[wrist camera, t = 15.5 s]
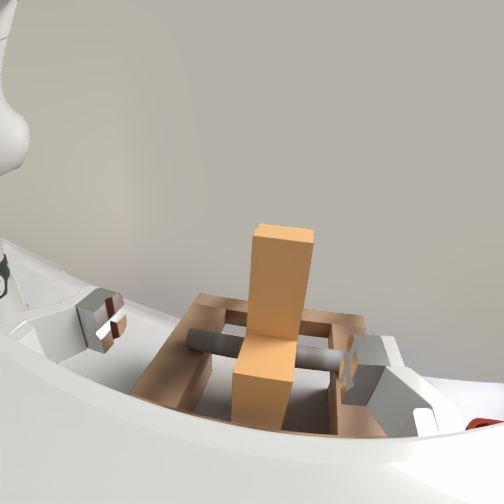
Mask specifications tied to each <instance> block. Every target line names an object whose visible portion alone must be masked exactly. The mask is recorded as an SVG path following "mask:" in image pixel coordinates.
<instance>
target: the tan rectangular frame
mask: <svg viewBox="0 0 504 504" xmlns="http://www.w3.org/2000/svg"><path fill="white" fill-rule="evenodd" d="M247 313H248V301H244V300H237V299H231V298H225V297H219V296H213V295H206V294H199V295H198V297H197V298H196V299H195V301H194V302H193V304H192V305H191V306H190V308H189V309H188V311H187V312H186V313H185V315H184V316H183V318H182V319H181V320H180V322H179V323H178V325H177V326H176V327H175V329H174V330H173V332H172V333H171V335H170V336H169V337H168V339H167V340H166V342H165V343H164V345H163V346H162V347H161V349H160V350H159V352H158V353H157V354H156V356H155V357H154V359H153V360H152V362H151V363H150V365H149V366H148V367H147V369H146V370H145V372H144V373H143V375H142V376H141V377H140V379H139V380H138V382H137V383H136V385H135V386H134V388H133V389H132V391H131V392H130V393H129V396H132V397H135V398H137V399H140V400H143V401H146V402H149V403H152V404H155V405H158V406H161V407H164V408H168V409H171V410H174V411H178V412H181V413H185V414H188V415H192V416H196V417H200V418H204V419H208V420H212V421H216V422H221V423H225V424H230V425H235V426H240V427H245V428H251V429H257V430H263V431H269V432H276V433H284V434H292V435H301V436H312V437H326V438H350V439H382V438H388V436H387V435H386V434H385V432H384V431H383V430H382V429H381V427H380V426H379V425H378V423H377V422H376V421H375V419H374V418H373V417H372V415H371V414H370V413H369V411H368V410H367V409H366V406H355V405H343V404H341V393H340V389H341V386H342V384H343V383H342V382H341V381H340V379H339V369H340V364H341V359H342V356H343V354H344V353H345V352H346V351H348V350H347V341H348V338H349V336H350V334H360V335H367V332H366V328H365V325H364V321H363V317H362V316H361V315H351V314H342V313H333V312H324V311H316V310H308V309H303V312H302V317H301V323H300V328H299V333H298V334H299V335H307V336H315V337H325V338H328V345H329V349H324V348H314V347H306V346H298V345H297V346H296V357H295V366H294V368H302V369H311V370H321V371H330V383H329V386H328V435H325V434H312V433H301V432H292V431H283V430H276V429H269V428H262V427H256V426H250V425H245V424H239V423H234V422H229V421H225V420H220V419H216V418H211V417H207V416H203V415H199V414H195V413H194V411H195V409H196V406H197V404H198V402H199V400H200V397H201V395H202V393H203V391H204V388H205V386H206V384H207V381H208V379H209V377H210V375H211V372H212V354H216V355H221V356H226V357H231V358H236V359H237V358H238V356H239V353H240V350H241V347H242V344H243V341H244V337H238V336H233V335H227V334H222V333H221V332H222V330H223V328H224V325H225V323H227V324H232V325H238V326H244V327H247Z"/></svg>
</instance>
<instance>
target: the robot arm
mask: <svg viewBox="0 0 504 504" xmlns="http://www.w3.org/2000/svg"><path fill="white" fill-rule="evenodd" d="M16 4H17V0H0V176H1V175H4V174H6V173H8V172H10V171H13V170H15V169H17V168H19V167H20V166H21V165H22V163H23V162H24V160H25V158H26V155H27V153H28V150H29V146H30V131H29V127H28V125H27V123H26V121H25V119H24V118H23V117H22V116H21V115H20V114H18V113H17V112H15V111H14V110H13V109H12V108H11V107H10V106H9V104H8V103H7V101H6V99H5V97H4V94H3V91H2V86H1V73H2V64H3V58H4V52H5V48H6V43H7V39H8V35H9V32H10V28H11V25H12V20H13V17H14V13H15V9H16ZM123 305H124V301H123V297H122V295H121V294H120V293H117V292H113V291H109V290H106V289H102V288H99V287H95V286H91V285H87V286H86V287H85V288H83V289H82V290H80V291H79V292H78V293H76V294H75V295H74V296H72V297H71V298H70V299H68V300H67V301H66V302H64V303H62V302H60V303H56V304H52V305H48V306H44V307H40V308H36V309H33V310H31V308H30V306H29V305H27V304H25V303H24V300H23V298H22V295H21V292H20V289H19V286H18V283H17V281H16V279H15V278H14V277H13V276H10V270H9V264H8V261H7V258H6V255H5V254H4V253H3V248H2V243H1V238H0V504H504V422H502V423H498V424H494V425H489V426H485V427H480V428H475V429H470V430H465V429H464V426H463V423H462V421H461V418H460V415H459V413H458V410H457V407H456V405H455V404H454V403H453V402H451V401H450V400H449V399H448V398H446V397H445V396H444V395H443V394H441V393H440V392H439V391H438V390H437V389H435V388H434V387H433V386H432V385H430V384H429V383H428V382H427V381H425V380H424V379H423V378H422V377H420V376H419V375H418V374H417V373H415V372H414V371H413V370H412V369H410V368H409V367H405V366H404V363H403V360H402V358H401V355H400V352H399V349H398V346H397V344H396V341H395V338H394V337H392V336H373V335H360V334H350V336H349V338H348V341H347V350H348V351H346V352H345V353H344V354H343V356H342V359H341V364H340V369H339V379H340V381H341V382H342V383H343V384H342V386H341V389H340V393H341V404H343V405H355V406H366V409H367V410H368V411H369V413H370V414H371V415H372V417H373V418H374V419H375V421H376V422H377V423H378V425H379V426H380V427H381V429H382V430H383V431H384V432H385V434H386V435H387V436H388V438H382V439H350V438H326V437H312V436H301V435H292V434H284V433H276V432H269V431H263V430H257V429H251V428H245V427H240V426H235V425H230V424H225V423H221V422H216V421H212V420H208V419H204V418H200V417H196V416H192V415H188V414H185V413H181V412H178V411H174V410H171V409H168V408H164V407H161V406H158V405H155V404H152V403H149V402H146V401H143V400H140V399H137V398H135V397H132V396H129V395H126V394H124V393H121V392H119V391H116V390H114V389H111V388H109V387H106V386H104V385H101V384H99V383H97V382H94V381H92V380H90V379H88V378H86V377H83V376H81V375H79V374H77V373H75V372H73V371H71V370H69V369H67V368H65V367H63V366H61V365H59V364H57V363H59V362H61V361H63V360H65V359H67V358H69V357H71V356H73V355H76V354H78V353H80V352H82V351H84V350H86V349H87V348H89V349H92V350H95V351H98V352H101V353H103V354H105V353H106V352H107V351H108V350H109V348H110V347H111V346H112V345H113V344H114V339H115V338H118V337H120V336H121V335H122V334H123V333H124V330H125V327H126V320H127V319H126V314H125V312H124V311H123V310H122V306H123Z"/></svg>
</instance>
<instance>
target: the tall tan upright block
mask: <svg viewBox="0 0 504 504" xmlns="http://www.w3.org/2000/svg"><path fill="white" fill-rule="evenodd" d="M313 244H314V240H313V230H309V229H301V228H293V227H285V226H276V225H267V224H260V225H259V226H258V228H257V229H256V231H255V233H254V235H253V242H252V256H251V270H250V286H249V299H248V313H247V328H246V335H245V338H244V341H243V344H242V347H241V350H240V353H239V356H238V358H237V361H236V364H235V367H234V370H233V378H232V410H231V422H234V423H239V424H245V425H250V426H256V427H262V428H269V429H276V430H281V427H282V423H283V419H284V415H285V412H286V408H287V404H288V400H289V396H290V392H291V388H292V383H293V376H294V366H295V357H296V346H297V337H298V333H299V328H300V323H301V317H302V312H303V306H304V301H305V295H306V289H307V283H308V277H309V270H310V264H311V258H312V251H313Z"/></svg>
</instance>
